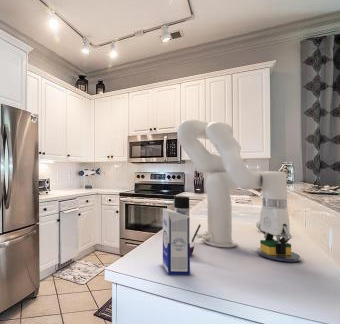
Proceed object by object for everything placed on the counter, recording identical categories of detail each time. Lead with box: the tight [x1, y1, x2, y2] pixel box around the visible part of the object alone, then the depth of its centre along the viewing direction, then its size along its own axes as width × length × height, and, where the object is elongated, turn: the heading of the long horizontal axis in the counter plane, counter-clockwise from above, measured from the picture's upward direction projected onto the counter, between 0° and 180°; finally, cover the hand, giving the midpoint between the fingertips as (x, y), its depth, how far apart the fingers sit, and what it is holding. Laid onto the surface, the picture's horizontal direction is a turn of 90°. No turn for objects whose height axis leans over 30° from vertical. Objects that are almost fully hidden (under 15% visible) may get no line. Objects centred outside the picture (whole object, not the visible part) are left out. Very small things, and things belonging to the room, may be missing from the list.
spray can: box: [173, 195, 190, 217], centre depth 116 cm, size 7×7×20 cm
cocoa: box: [190, 223, 201, 256], centre depth 96 cm, size 10×6×12 cm, turn 49°
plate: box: [256, 247, 301, 263], centre depth 94 cm, size 13×13×2 cm
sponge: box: [259, 239, 292, 255], centre depth 94 cm, size 8×5×4 cm, turn 88°
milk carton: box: [162, 207, 191, 276], centre depth 82 cm, size 7×7×20 cm
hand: (275, 251), depth 94 cm, fingers closed on sponge, 5 cm apart
